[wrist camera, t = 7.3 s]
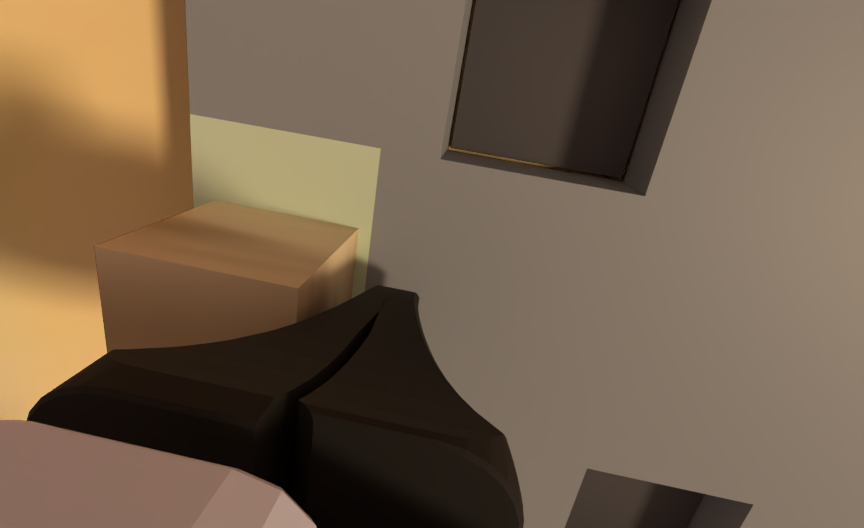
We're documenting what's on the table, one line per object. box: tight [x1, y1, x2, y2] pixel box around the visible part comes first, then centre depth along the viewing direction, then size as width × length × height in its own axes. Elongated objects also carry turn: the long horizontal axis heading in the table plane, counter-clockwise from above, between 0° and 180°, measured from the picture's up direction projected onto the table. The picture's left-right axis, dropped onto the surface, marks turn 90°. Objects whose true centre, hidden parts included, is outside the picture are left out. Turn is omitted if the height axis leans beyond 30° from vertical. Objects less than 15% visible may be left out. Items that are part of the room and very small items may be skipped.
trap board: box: [185, 0, 864, 528], centre depth 13 cm, size 20×22×2 cm
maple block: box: [94, 200, 359, 353], centre depth 11 cm, size 4×4×4 cm
